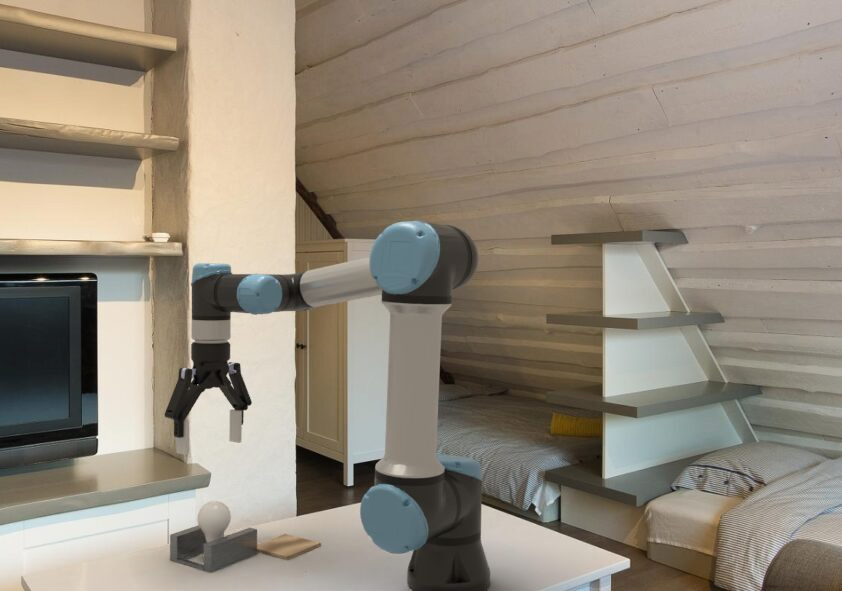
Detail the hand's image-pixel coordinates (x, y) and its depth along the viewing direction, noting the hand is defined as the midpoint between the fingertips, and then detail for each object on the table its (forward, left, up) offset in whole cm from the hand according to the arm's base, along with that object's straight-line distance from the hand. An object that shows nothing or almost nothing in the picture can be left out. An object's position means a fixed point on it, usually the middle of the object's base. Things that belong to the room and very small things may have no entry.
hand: (209, 447), depth 159 cm
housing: (-2, +1, -21) cm, 21 cm away
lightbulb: (-2, +1, -22) cm, 22 cm away
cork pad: (-10, -11, -21) cm, 26 cm away
